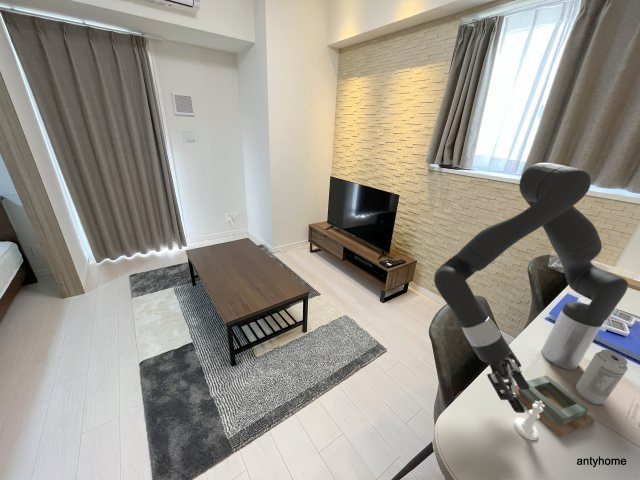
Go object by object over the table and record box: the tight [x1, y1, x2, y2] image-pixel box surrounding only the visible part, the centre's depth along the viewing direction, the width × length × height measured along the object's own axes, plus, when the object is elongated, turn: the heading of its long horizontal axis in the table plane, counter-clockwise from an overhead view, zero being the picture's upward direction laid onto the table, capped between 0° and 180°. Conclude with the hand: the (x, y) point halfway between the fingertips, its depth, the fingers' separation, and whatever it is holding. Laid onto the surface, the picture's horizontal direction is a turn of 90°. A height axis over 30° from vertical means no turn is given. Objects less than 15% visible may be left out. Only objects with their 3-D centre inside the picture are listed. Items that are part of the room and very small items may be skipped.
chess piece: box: [513, 400, 545, 441], centre depth 61 cm, size 5×5×10 cm
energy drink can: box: [575, 349, 628, 405], centre depth 71 cm, size 6×6×15 cm
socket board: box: [508, 374, 595, 438], centre depth 69 cm, size 13×13×4 cm
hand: (523, 399), depth 62 cm, fingers open, 8 cm apart
